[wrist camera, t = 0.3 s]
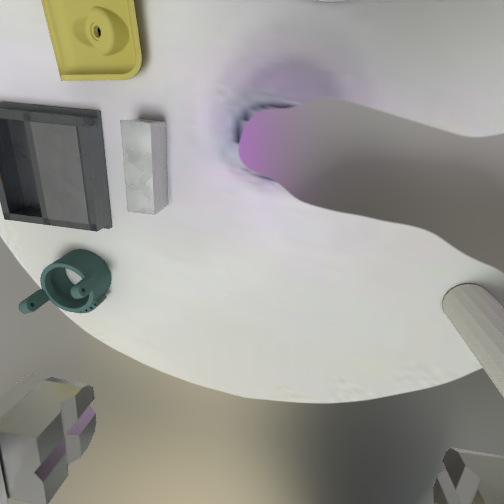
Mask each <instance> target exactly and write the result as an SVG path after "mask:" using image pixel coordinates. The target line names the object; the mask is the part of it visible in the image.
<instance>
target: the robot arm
mask: <svg viewBox="0 0 504 504" xmlns="http://www.w3.org/2000/svg"><path fill="white" fill-rule="evenodd" d="M319 1H324V2H338V1H344V0H319ZM93 400H94V390H93V387H92V386H90V385H88V384H83V383H78V382H73V381H68V380H63V379H57V378H53V377H46V376H41V375H36V374H30V375H27V376H25V377H23V378H22V379H21V380H19V381H18V382H17V383H16V384H14V385H13V386H12V387H11V388H10V389H8V391H6V392H5V393H4V394H2V395H1V396H0V504H5V503H7V501H8V499H11V500H17V501H22V502H28V503H33V504H48V503H49V502H50V500H51V499H52V498H53V496H54V495H55V493H56V492H57V491H58V489H59V488H60V486H61V485H62V483H63V482H64V481H65V479H66V478H67V476H68V465H69V464H70V463H72V462H74V461H75V460H77V459H79V458H80V457H81V456H82V455H83V453H84V452H85V451H86V449H87V448H88V446H89V444H90V442H91V439H92V437H93V434H94V432H95V426H96V413H95V412H94V410H93V409H92V408H91V407H90V404H91V402H92V401H93ZM442 461H443V463H444V465H445V468H446V470H445V471H444V472H442V473H441V474H439V475H437V477H436V480H435V484H434V487H433V503H434V504H504V456H498V455H493V454H487V453H481V452H474V451H468V450H462V449H456V448H449V449H448V450H447V451H446V452H445V455H444V457H443V460H442Z"/></svg>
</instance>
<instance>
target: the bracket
mask: <svg viewBox="0 0 504 504" xmlns="http://www.w3.org/2000/svg"><path fill="white" fill-rule="evenodd" d="M65 268H67V269H70V270H72V271H74V272H76V273H77V274H78V275H80V276H81V277H82V278H83V279H82V280H81V281H80V282H78V283H77V284H76V285H75V286H74V285H73V283H72V282H71V281H70V280H69V278H68V276H67V274H66V271H65ZM110 284H111V272H110V270H109V268H108V267H107V265H106V263H105V261H104V260H103V259H102V258H101V257H99V256H98V255H97V254H95V253H93V252H91V251H88V250H81V249H79V250H74V251H72V252H70V253H68V254H67V255H65V256H63V257H62V258H60V259H58V260H57V261H55V262H54V263H52V264H50V265H49V266H47V267H46V268H45V269H44V270H43V272H42V274H41V287H42V289H40V290H38V291H36V292H35V293H33V294H32V295H31V296H29V297H28V298H26V299H25V300H23V301H22V302H21V303H20V304H19V310H20V311H21V312H22V313H30V312H33V311H35V310H37V309H38V308H39V307H40V306H42V305H43V304H45V303H46V302H47V301H49V300H50V301H51V302H52V303H53V304H55V305H56V306H57V307H59V308H61V309H63V310H66V311H69V312H75V313H87V312H90V311H93V310H94V309H95V308H96V307H97V306H98V305H100V304H101V303H102V302H103V301H104V300H105V298H106V296H105V295H104V294H103V293H104V292H106V291H107V290H108V288H109V287H110Z"/></svg>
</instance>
